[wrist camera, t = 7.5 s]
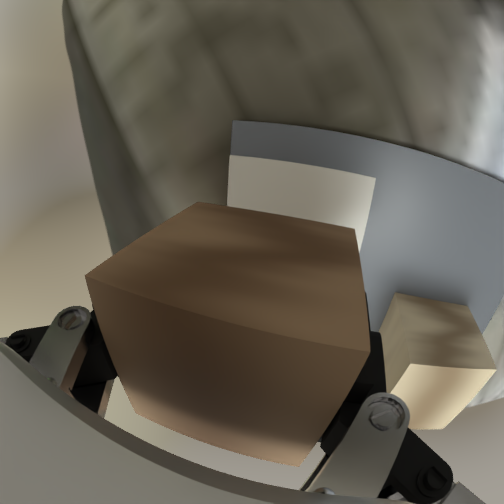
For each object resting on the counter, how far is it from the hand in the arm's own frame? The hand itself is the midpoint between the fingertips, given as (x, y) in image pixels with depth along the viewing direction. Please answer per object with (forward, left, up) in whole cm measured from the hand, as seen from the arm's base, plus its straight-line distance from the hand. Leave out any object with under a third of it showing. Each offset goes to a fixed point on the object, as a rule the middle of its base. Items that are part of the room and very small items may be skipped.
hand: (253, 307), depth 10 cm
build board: (-6, +1, -8) cm, 10 cm away
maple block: (-10, +5, -7) cm, 14 cm away
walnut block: (0, 0, -2) cm, 2 cm away
